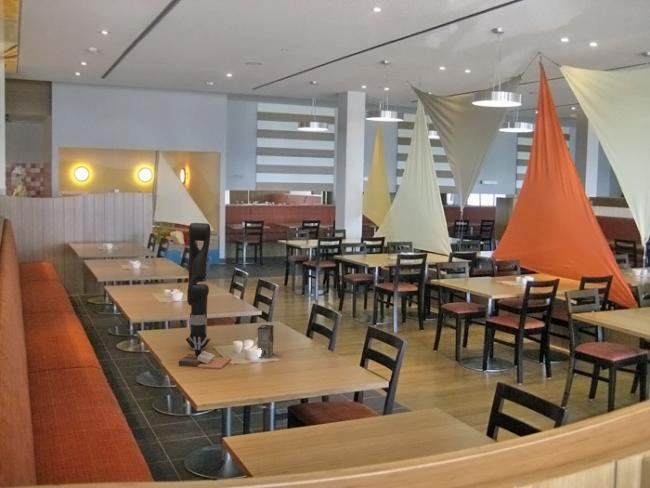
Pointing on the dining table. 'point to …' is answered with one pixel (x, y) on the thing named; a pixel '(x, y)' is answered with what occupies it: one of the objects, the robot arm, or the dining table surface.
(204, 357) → the cream tile
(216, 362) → the terracotta mat
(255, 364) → the dining table surface
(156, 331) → the dining table surface
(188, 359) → the walnut deck
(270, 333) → the coffee box
